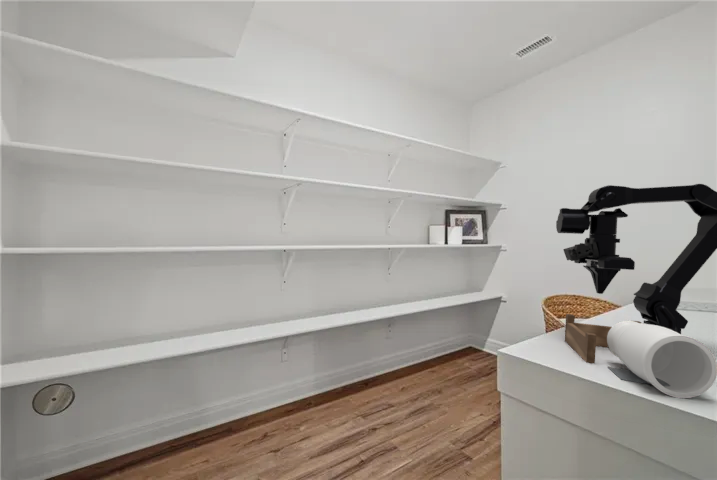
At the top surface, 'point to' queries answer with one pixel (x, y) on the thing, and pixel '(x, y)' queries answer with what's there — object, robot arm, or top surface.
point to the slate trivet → (632, 376)
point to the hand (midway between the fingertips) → (599, 293)
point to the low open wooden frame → (585, 337)
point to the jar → (664, 358)
